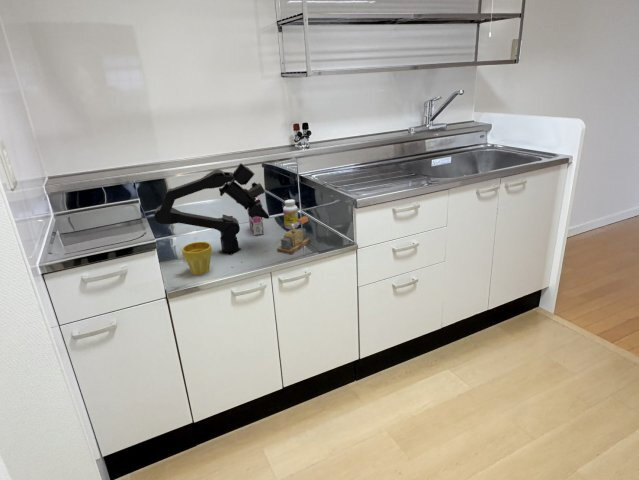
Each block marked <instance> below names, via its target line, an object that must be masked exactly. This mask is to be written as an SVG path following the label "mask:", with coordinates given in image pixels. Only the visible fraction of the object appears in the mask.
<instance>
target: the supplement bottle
mask: <svg viewBox="0 0 639 480" xmlns="http://www.w3.org/2000/svg"><path fill="white" fill-rule="evenodd" d="M298 209H299V208H298V206H297V205H296V200H295V199H287V200H284V206H283V208H282V210H283V211H282V213H283V221H284V222H283V224H284V225H283V226H284V228H285V229H287V230H291V228H290V223H295V222H297V220H298V219H299V210H298ZM299 225H300V224H299ZM299 225H297V226H296V228H295V229H298V227H299Z"/></svg>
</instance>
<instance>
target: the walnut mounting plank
mask: <svg viewBox="0 0 639 480" xmlns="http://www.w3.org/2000/svg"><path fill="white" fill-rule="evenodd" d="M311 239H312V238H311V237H307V238H306V239H305V240H303V241H302V242H301V243H299V244H298V245H296V246H293V248H291V249H290V250H288V249H283V248H281V245H280V246H278V247H277V248H276V252H277V253H281V252H282V254H286V253H287V254H288V255H294V254H295V253H296V252H298V251H300V249H302V248H303V247H305V246H306V245H308V244H309V243H311V241H312V240H311Z"/></svg>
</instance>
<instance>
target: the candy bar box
mask: <svg viewBox="0 0 639 480" xmlns="http://www.w3.org/2000/svg"><path fill="white" fill-rule="evenodd" d="M255 198H256V197H255ZM258 199H259V200H260V202H261V199H260V198H259V196H257V198H256V200H255V201H257V200H258ZM261 203H262V202H261ZM248 209H249V208H248ZM248 209H247V210H248ZM248 221H249V228H250V231H251V233H252V235H253V236H255V237H257V236H263V235H264V225H263V218H262V217H258V216H254V218H251V217H250V216H249V215H248Z"/></svg>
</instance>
